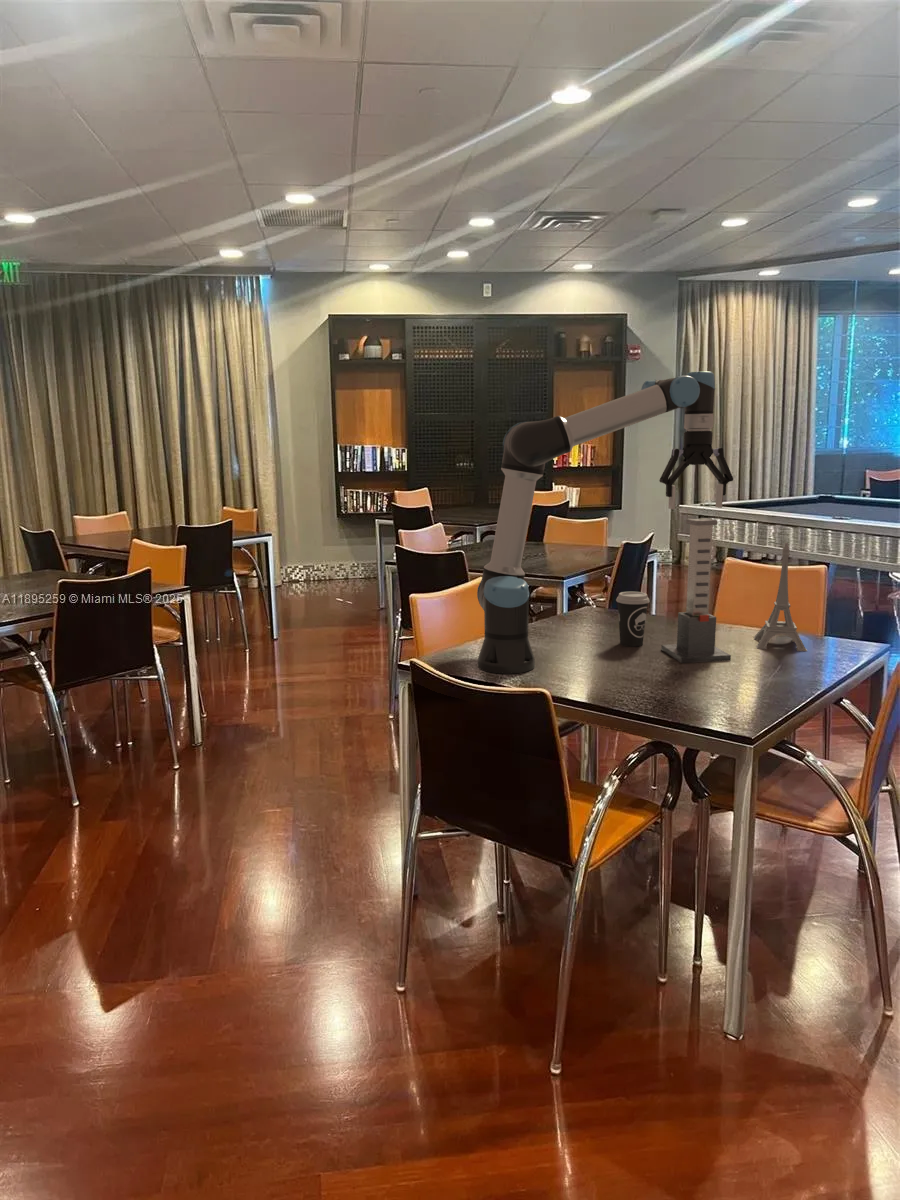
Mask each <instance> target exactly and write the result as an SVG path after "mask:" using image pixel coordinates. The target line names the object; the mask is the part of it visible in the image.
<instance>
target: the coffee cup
mask: <svg viewBox="0 0 900 1200" xmlns="http://www.w3.org/2000/svg"><path fill="white" fill-rule="evenodd" d="M615 601H616V602H617V611H618V612H617V613H618V627H619V629H618V630H619V631H618V632H619V644H620V645H621V646H623V647H632V648H636V647H641V646H643V644H644V636H645V630H646V628H645V627H646V621H647V614H648V613H647V611H648V606H649V603H650V598H649V597H648V594H647V593H645V592H642V591H621V592H619V593H618V596H617V597H616V599H615Z"/></svg>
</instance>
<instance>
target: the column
mask: <svg viewBox="0 0 900 1200" xmlns="http://www.w3.org/2000/svg"><path fill="white" fill-rule="evenodd" d="M685 519H686V521H685V523H686V524H688V525H689V540H688V541H689V543H688V544H689V545H688V565H687V567H688V568H687V588H686V589H687V591H686V608H685V609H686V610H685V612H686V615H687V616H689V617H691V618H693V617H699V615H708V613H709V607H710V606H709V605H710V589H711V587H710V586H711V567H712V547H713V530H714V529H713V528H714V526H717V525H718V520H716V519H712V518H709V517H708V518H705V517H704V518H685Z"/></svg>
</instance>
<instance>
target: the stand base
mask: <svg viewBox="0 0 900 1200" xmlns="http://www.w3.org/2000/svg"><path fill="white" fill-rule="evenodd" d="M677 614H678V616H677V630H676V631H677V635H676V643H673V644H670V643H669V644H661V648H660V650H661V651H662V652H664V653H665V654H666V655H669V656H670V657H671V658H673V659H675V660H676V661H678V662H679V663H681V664H688V663H708V662H728V661H729V662H730V661H731V659H732V655H731V654H730V653H728V652H726V651H724V650H723V649H720V648H718V647H717V646H716V631H717V630H716V627H717V617H716V616H714V615H713V614H710V613H709V612H708V615H699V617H693V618H691V617H689V616H687V615H686V611H685V612H683V611H682V612H677Z"/></svg>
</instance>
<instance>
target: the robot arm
mask: <svg viewBox="0 0 900 1200" xmlns="http://www.w3.org/2000/svg"><path fill="white" fill-rule="evenodd" d="M715 390H716V380H715V374H714V373H713V371H706V370H705V371H702V370H701V371H690V372H687V373H686V374H685V375H679V376H676V377H671V378H666V379H653V380H652V379H651V380H650V379H649V380H644V382H643V383H642V385H641V388H640V390H638V391H635V392H632V393H630V394H627V395H623V396H621V397H618V398H616V399H613V400H610V401H607V402H604V403H601V404H600V405H596V406H594V407H591V408H588V409H586V410H582V411H579V412H577V413H575V414H571V415H569V416H565V417H562V416H561V415H556V416H553V417H551V418H548V419H543V420H534V421H522V422H521V421H520V422H518V423H516V424H514V425H512V426H511V427H510V428H509V429H508V431H506V433H505V435H504V437H503V441H502V449H503V455H502V461H501V467H500V470H501V472H502V473H503V474H504V481H503V487H502V491H501V492H502V493H501V499H500V503H499V504H500V505H499V510H498V515H497V521H496V522H497V523H496V526H495V533H494V539H493V544H492V550H491V551H492V552H491V555H490V561H489V562H487V564H485V565H484V566H483V571H482V577H481V580H480V581H479V583H478V587H477V592H476V594H477V597H476V598H477V600H478V603H479V605H480V607H481V608H482V610H483V612H484V617H483V618H484V637H483V642H482V645H481V647H480V648H481V649H480V652H479V653H478V656H477V657H478V658H477V667H478V668H479V669H480V670H482V671H485V672H488V673H494V674H506V675H509V674H511V675H512V674H520V673H521V674H523V673H526V672H529V671H532V670H533V669H535V665H536V664H535V663H536V661H535V658H536V657H535V656H534V653H533V648H532V646H531V644H530V640H529V607H530V606H529V601H530V600H529V598H530V590H529V584H528V582H527V581H526V580H525V576H526V573H525V571H524V570H523V568H522V561H523V555H524V550H525V545H526V540H527V534H528V528H529V523H530V517H531V512H532V507H533V502H534V496H535V491H536V485H537V481H538V480H539V479H541V478H543V476H544V472H545V467H546V463H548V462H550V461H551V460H554V459H556V458H559V457H560V456H563V455H566V454H568V453H570V452H571V451H572V449H573V448H574V447H575V446H579V445H581V444H583V443H587V442H589V441H591V440H594V439H597V438H600V437H603V436H605V435H609V434H611V433H614V432H616V431H618V430H623V429H624V428H627V427H630V426H632V425H635V424H638V423H640V422H643V421H646V420H649V419H651V418H654V417H657V416H659V415H662V414H665V413H668V412H672V411H674V410H678V409H684V421H683V422H684V424H683V429H684V430H686V431H684V433H683V448H682V449H679V448H672V449H671V455H670V458H669V460H668V462H667V464H666V466H665V468H664V470H663V471H662V474H661V476H660V478H659V480H658V481H659V483H661V484H665V485H664V486H665V496H666V497H668V509H670V510H675V509H676V506H675V505H676V485H674V484H675V482H676V480H677V479H678V478H679V477H680V476H681V475H682V473H684V471H685V470H686V469H687V468H688V466H690V465H691V466H696V465H700V466H701V465H704V466H706V467H707V468H708V470H709V471H710V472H711V473H712V475H713V476H714V478H716V480H717V481H718V482H719V483H716V485H715V486H716V488H715V489H716V490H715V491H716V493H715V505H714V506H715V508H719V509H722V508H723V496H726V494H727V484H729V483H730V482H733V481H734V477H733V474H732V472H731V470H730V467H729V465H728V463H727V460H726V457H725V454H724V448H723V447H716V448H713V445H712V444H713V433H714V432H713V431H712V430H711V429H713V428H714V406H715V405H714V404H715ZM713 455H714V457H715V458H716V461H717V463H718V466H719V468H720V470H719V468H718V467H717V466H716V464H715V463H714V462H715V461H713V460H712V458H711V457H712V456H713ZM681 456H683V459H682V460H681V462H680V464H679V465H678V467H676V468H675V470H674V471H673V469H674V467H675V466H676V463H677V461H678V460H679V458H680V457H681ZM672 471H673V472H672ZM671 473H672V474H671Z"/></svg>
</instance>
